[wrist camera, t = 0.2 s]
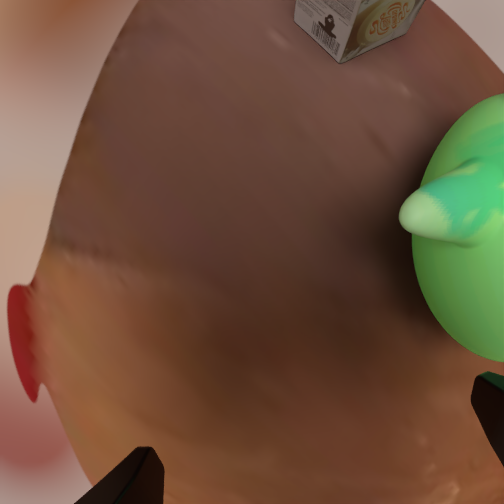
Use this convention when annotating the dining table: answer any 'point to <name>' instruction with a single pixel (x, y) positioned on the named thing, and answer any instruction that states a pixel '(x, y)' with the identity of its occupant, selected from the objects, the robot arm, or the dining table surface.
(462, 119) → the toy bird
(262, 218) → the dining table surface
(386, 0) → the coffee box
